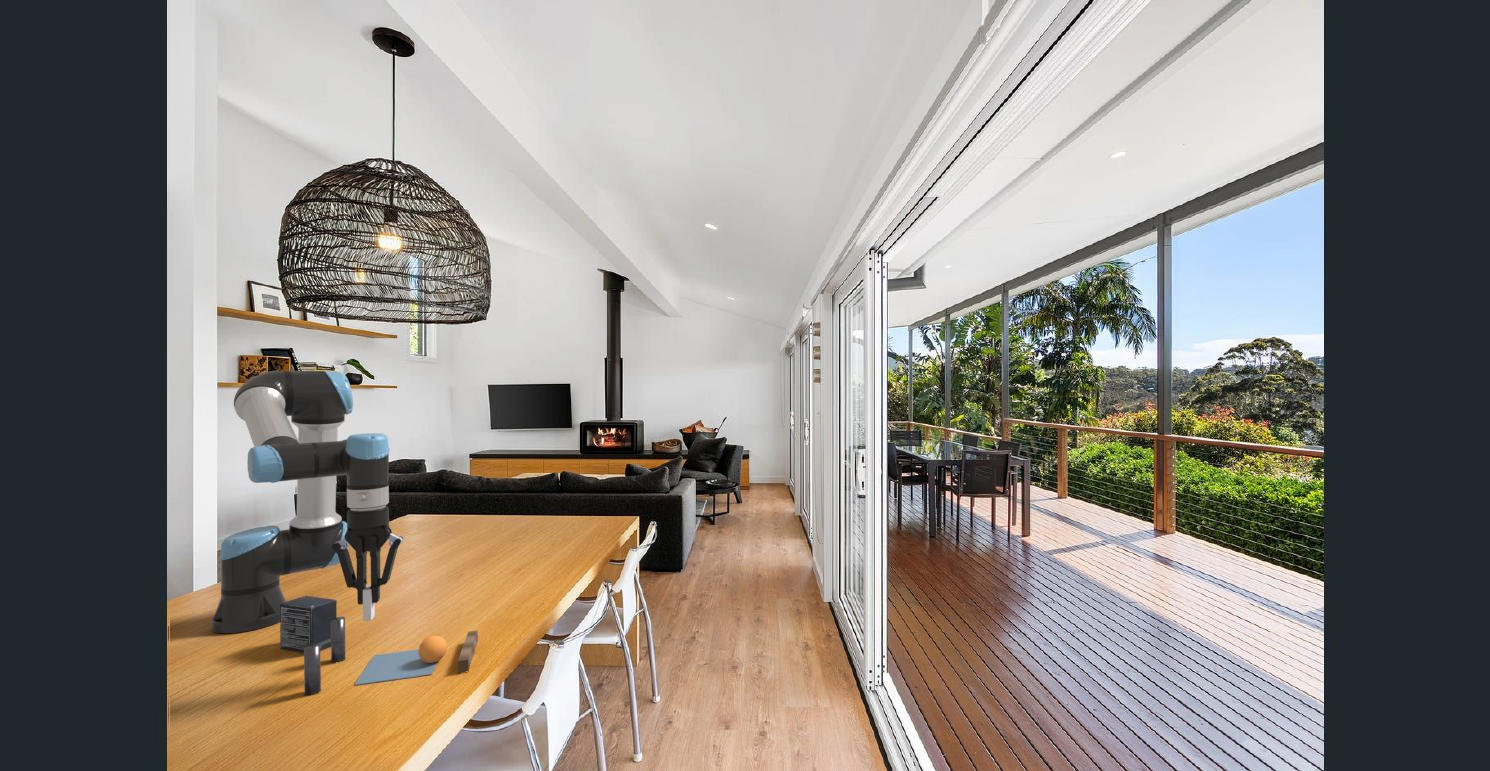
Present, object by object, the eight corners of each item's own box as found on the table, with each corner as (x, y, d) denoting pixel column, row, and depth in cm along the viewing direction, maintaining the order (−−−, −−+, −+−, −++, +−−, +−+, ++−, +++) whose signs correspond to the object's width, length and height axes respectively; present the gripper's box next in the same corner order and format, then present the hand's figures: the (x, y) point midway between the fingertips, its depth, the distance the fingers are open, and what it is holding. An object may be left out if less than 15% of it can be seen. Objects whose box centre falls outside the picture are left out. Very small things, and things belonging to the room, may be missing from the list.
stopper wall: (468, 642, 141) (468, 631, 141) (477, 641, 141) (477, 630, 141) (457, 673, 126) (457, 661, 126) (468, 671, 126) (468, 659, 126)
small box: (339, 643, 141) (338, 598, 141) (311, 655, 135) (310, 608, 135) (307, 637, 145) (306, 593, 145) (278, 649, 139) (278, 603, 139)
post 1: (307, 689, 119) (307, 644, 119) (322, 687, 120) (322, 642, 120) (302, 696, 117) (301, 649, 117) (318, 694, 118) (317, 647, 118)
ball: (454, 647, 134) (429, 662, 133) (441, 626, 134) (416, 641, 132) (449, 656, 129) (424, 672, 128) (436, 635, 129) (410, 650, 127)
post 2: (333, 658, 133) (333, 617, 133) (347, 656, 134) (346, 616, 134) (329, 663, 131) (328, 621, 131) (343, 661, 132) (342, 620, 132)
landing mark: (374, 655, 134) (374, 655, 134) (444, 647, 138) (444, 646, 138) (354, 685, 121) (354, 684, 121) (432, 674, 125) (432, 673, 125)
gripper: (325, 513, 122) (326, 629, 123) (398, 508, 126) (399, 621, 126) (338, 505, 129) (339, 615, 130) (407, 501, 133) (407, 608, 134)
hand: (368, 618), depth 128 cm, fingers closed
